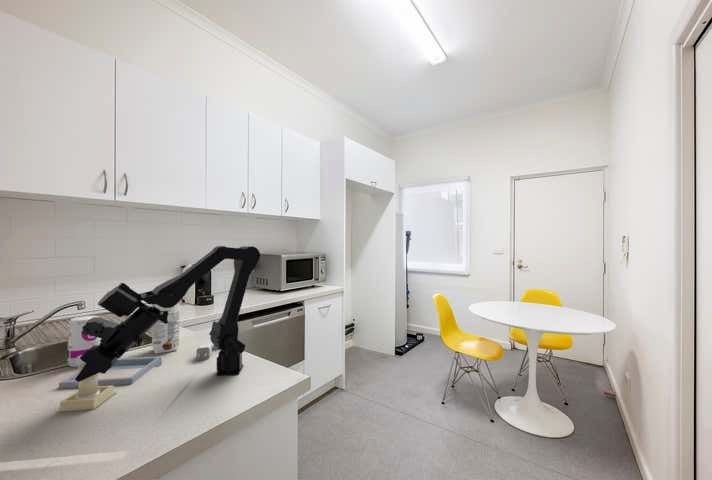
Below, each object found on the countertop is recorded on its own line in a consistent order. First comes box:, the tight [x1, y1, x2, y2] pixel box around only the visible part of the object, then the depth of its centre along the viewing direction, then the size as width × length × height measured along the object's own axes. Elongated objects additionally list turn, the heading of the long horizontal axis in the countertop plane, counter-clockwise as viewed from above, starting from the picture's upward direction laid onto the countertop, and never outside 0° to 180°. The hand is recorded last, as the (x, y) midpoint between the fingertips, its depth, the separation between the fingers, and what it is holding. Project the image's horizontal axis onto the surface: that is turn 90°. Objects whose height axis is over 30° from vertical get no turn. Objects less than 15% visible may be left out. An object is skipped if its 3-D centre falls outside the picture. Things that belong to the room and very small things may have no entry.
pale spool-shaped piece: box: [76, 355, 100, 400], centre depth 73 cm, size 4×4×11 cm
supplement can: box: [67, 314, 102, 368], centre depth 100 cm, size 8×8×15 cm
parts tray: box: [58, 356, 162, 390], centre depth 89 cm, size 18×16×2 cm
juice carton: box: [151, 301, 180, 355], centre depth 112 cm, size 8×9×19 cm
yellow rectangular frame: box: [55, 385, 117, 414], centre depth 73 cm, size 8×8×3 cm
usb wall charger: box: [196, 342, 213, 361], centre depth 104 cm, size 4×7×4 cm, turn 16°
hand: (81, 376), depth 73 cm, fingers closed on pale spool-shaped piece, 4 cm apart
